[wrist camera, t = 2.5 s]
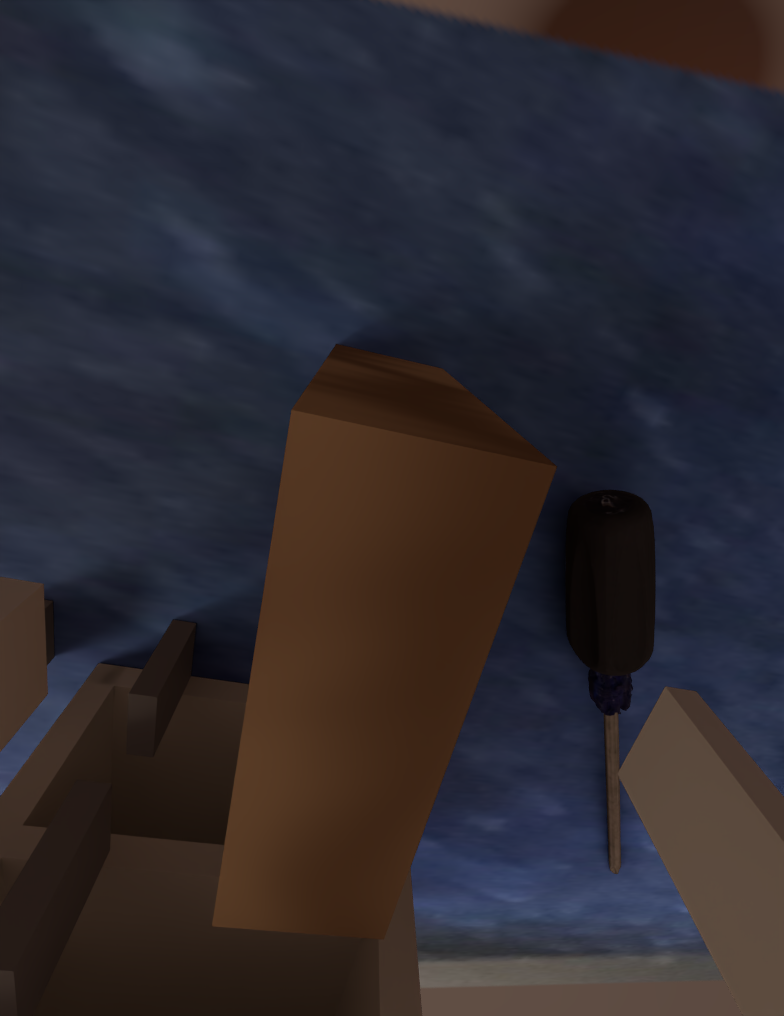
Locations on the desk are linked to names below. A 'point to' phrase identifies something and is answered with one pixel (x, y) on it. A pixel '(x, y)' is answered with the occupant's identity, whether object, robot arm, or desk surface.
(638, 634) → the screwdriver
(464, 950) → the desk surface
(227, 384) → the desk surface
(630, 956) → the desk surface
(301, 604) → the door
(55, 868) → the cabinet
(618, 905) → the desk surface
